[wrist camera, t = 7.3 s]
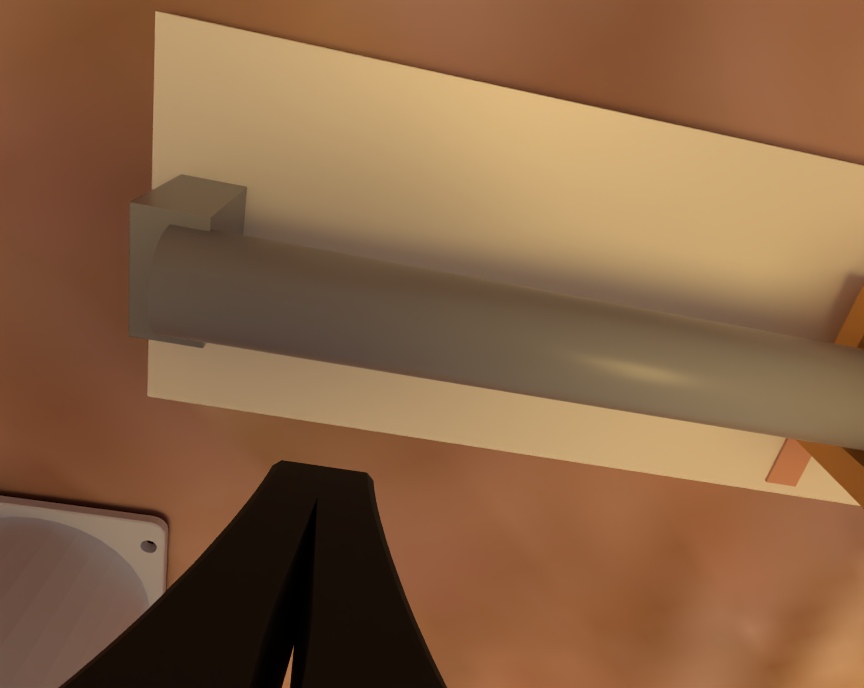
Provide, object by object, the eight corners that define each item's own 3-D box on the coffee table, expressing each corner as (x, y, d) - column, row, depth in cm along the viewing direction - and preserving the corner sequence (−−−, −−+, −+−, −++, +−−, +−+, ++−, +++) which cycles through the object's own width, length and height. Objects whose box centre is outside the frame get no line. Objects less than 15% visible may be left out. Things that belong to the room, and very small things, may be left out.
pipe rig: (1144, 226, 18) (1423, 293, 13) (957, 504, 22) (1116, 636, 17) (170, 13, 15) (53, -5, 10) (159, 379, 19) (72, 495, 14)
